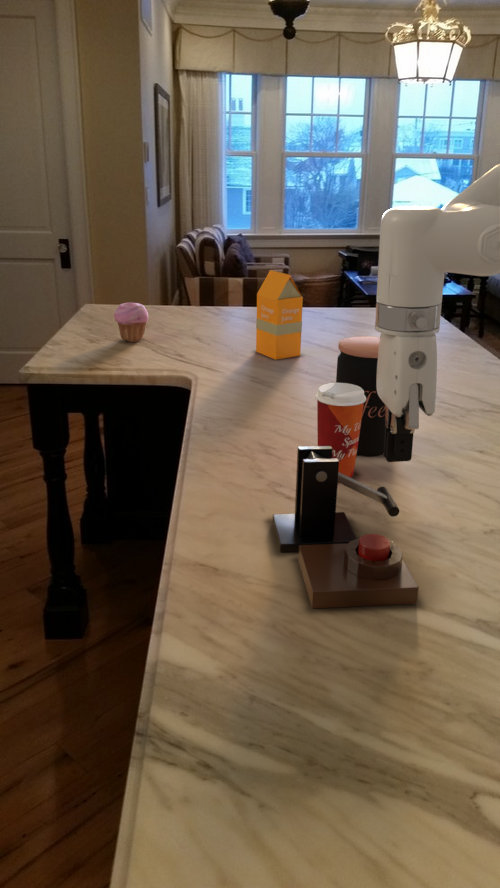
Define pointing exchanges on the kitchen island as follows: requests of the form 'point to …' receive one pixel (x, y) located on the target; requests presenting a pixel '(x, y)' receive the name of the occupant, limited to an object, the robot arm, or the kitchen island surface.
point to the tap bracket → (314, 505)
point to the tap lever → (366, 490)
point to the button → (374, 547)
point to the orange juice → (279, 317)
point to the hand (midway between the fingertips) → (397, 458)
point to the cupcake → (131, 321)
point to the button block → (355, 577)
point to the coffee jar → (362, 371)
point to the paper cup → (340, 421)
